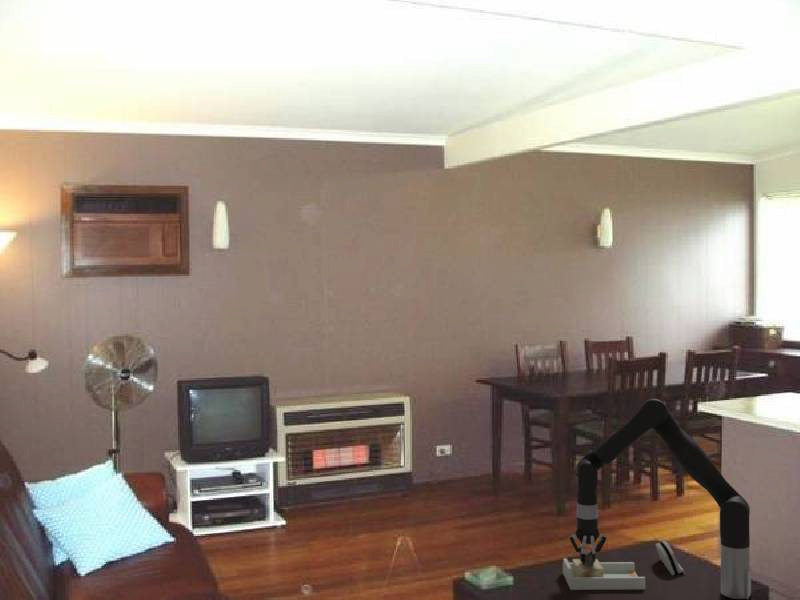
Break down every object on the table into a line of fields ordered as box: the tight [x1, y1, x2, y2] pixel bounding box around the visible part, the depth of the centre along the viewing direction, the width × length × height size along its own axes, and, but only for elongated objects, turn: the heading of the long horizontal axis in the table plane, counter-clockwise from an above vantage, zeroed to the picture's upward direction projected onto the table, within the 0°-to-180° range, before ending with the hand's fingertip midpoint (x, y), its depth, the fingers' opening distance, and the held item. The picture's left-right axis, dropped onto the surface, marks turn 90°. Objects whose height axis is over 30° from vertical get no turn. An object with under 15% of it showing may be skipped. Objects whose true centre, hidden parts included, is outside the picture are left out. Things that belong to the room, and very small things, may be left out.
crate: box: [572, 549, 603, 577], centre depth 299 cm, size 9×10×9 cm
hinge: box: [655, 540, 686, 576], centre depth 312 cm, size 17×5×10 cm, turn 176°
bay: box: [562, 557, 646, 591], centre depth 299 cm, size 26×16×6 cm, turn 88°
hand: (587, 563), depth 299 cm, fingers closed on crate, 2 cm apart
